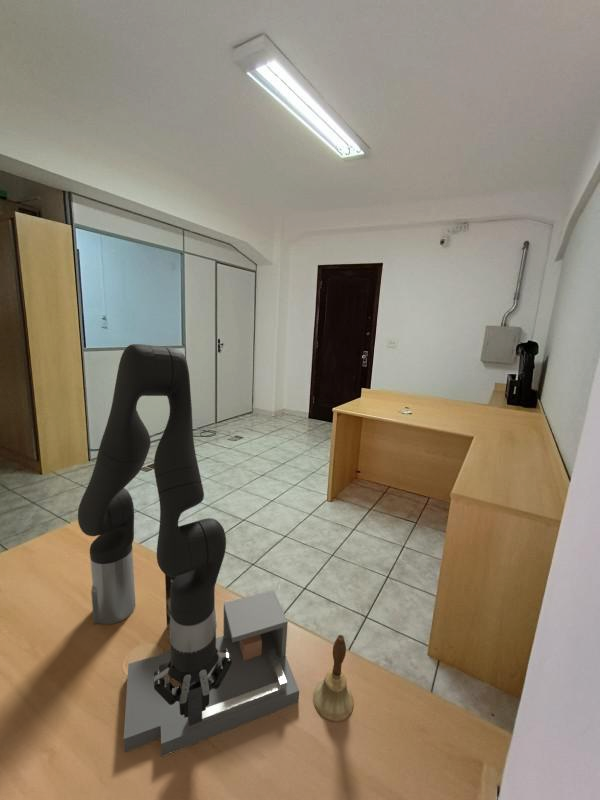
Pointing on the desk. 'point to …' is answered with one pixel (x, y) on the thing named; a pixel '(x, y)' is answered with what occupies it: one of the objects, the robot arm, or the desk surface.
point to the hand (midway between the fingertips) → (194, 708)
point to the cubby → (241, 620)
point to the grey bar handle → (237, 703)
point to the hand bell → (334, 688)
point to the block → (251, 647)
